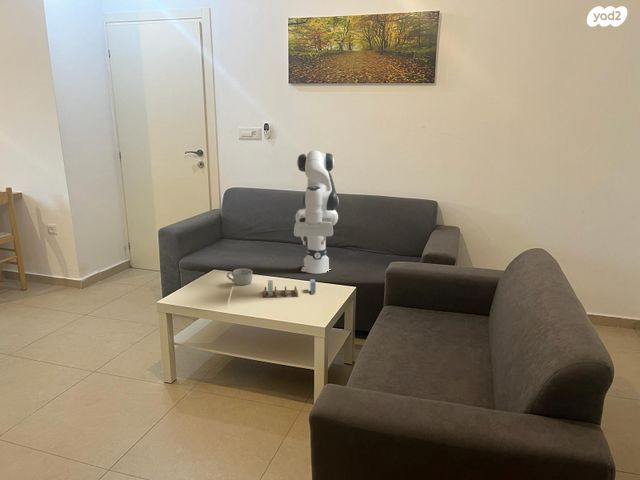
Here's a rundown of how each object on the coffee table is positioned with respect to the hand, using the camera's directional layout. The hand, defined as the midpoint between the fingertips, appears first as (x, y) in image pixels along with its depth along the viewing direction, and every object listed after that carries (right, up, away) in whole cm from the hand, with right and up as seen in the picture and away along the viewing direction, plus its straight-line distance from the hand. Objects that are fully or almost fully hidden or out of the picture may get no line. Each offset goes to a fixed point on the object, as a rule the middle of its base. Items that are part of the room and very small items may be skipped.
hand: (313, 244), depth 242 cm
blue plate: (0, -25, +5) cm, 26 cm away
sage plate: (-22, -25, -1) cm, 34 cm away
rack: (-17, -26, -1) cm, 31 cm away
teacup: (-41, -23, +18) cm, 50 cm away
